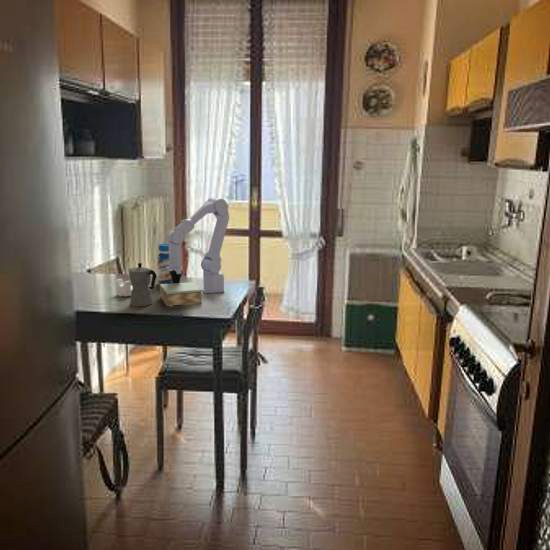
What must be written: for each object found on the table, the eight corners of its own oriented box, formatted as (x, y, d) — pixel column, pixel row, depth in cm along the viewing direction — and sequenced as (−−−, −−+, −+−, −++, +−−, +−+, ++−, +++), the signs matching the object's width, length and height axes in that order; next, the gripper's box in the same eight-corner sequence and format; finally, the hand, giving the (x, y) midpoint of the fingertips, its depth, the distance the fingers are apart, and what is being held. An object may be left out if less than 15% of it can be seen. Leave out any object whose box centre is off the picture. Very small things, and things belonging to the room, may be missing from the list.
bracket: (126, 298, 244) (125, 282, 243) (117, 295, 249) (116, 279, 247) (150, 293, 254) (149, 277, 252) (141, 291, 259) (140, 275, 257)
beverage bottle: (176, 282, 277) (175, 243, 273) (173, 285, 269) (172, 245, 265) (159, 281, 277) (158, 243, 273) (156, 285, 269) (155, 245, 265)
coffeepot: (121, 304, 234) (120, 263, 230) (137, 299, 242) (135, 259, 238) (149, 309, 226) (148, 267, 223) (164, 304, 234) (163, 263, 231)
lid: (192, 291, 251) (192, 281, 250) (201, 299, 236) (201, 289, 235) (160, 293, 245) (159, 284, 244) (167, 302, 231) (166, 292, 230)
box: (193, 295, 250) (193, 285, 249) (201, 303, 237) (201, 292, 236) (160, 298, 245) (160, 287, 244) (167, 306, 231) (166, 295, 230)
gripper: (163, 254, 251) (164, 283, 254) (169, 260, 238) (170, 290, 241) (178, 254, 254) (179, 282, 256) (185, 259, 240) (186, 289, 243)
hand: (176, 286), depth 249 cm, fingers closed
